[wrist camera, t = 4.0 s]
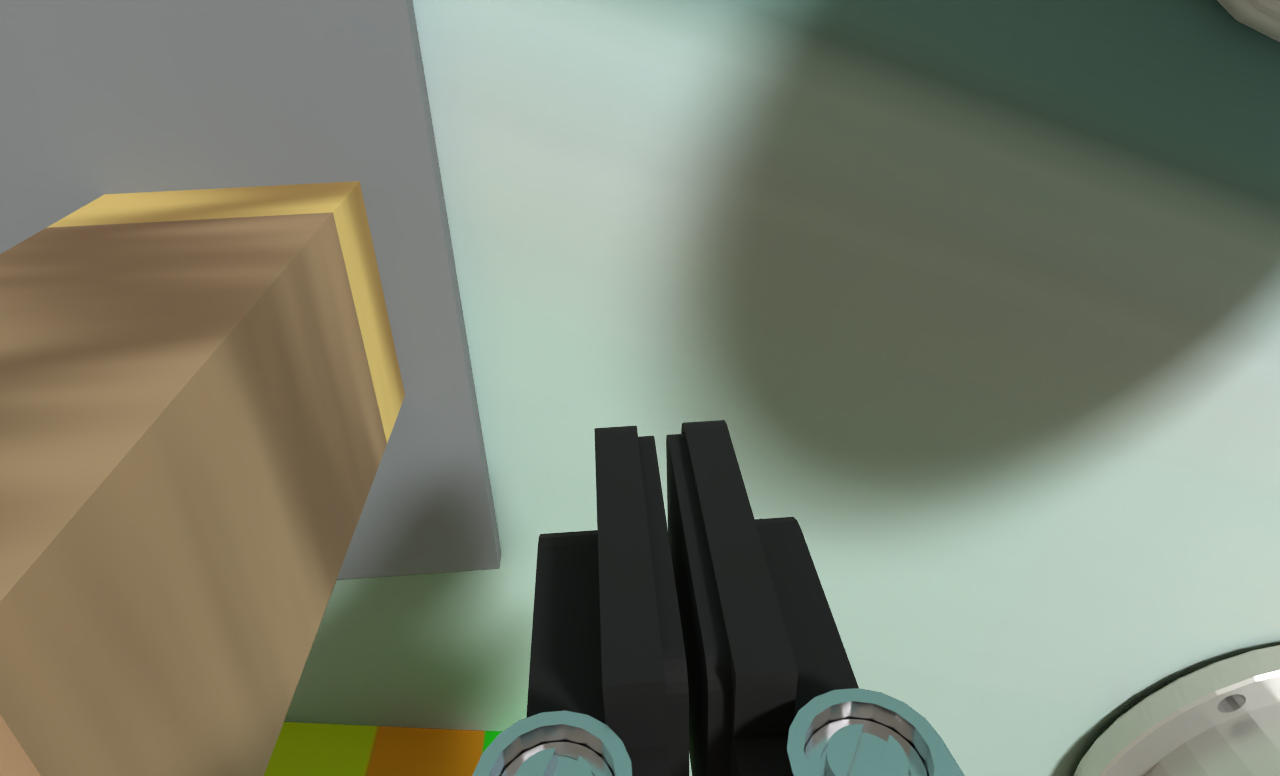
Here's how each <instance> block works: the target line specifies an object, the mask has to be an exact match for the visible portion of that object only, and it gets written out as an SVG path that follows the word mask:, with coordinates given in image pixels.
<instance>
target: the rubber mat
mask: <svg viewBox="0 0 1280 776" xmlns="http://www.w3.org/2000/svg"><path fill="white" fill-rule="evenodd" d="M354 181H360V185H361V190H362V195H363V200H364V204H365V209H366V214H367V218H368V223H369V228H370V232H371V237H372V242H373V247H374V251H375V256H376V261H377V265H378V270H379V275H380V279H381V284H382V289H383V294H384V298H385V303H386V308H387V312H388V317H389V322H390V327H391V331H392V336H393V341H394V345H395V350H396V355H397V359H398V364H399V369H400V374H401V378H402V383H403V388H404V392H405V397H404V400H403V402H402V405H401V408H400V411H399V413H398V416H397V419H396V421H395V424H394V427H393V429H392V432H391V435H390V437H389V440H388V443H387V446H386V448H385V451H384V454H383V456H382V459H381V462H380V464H379V467H378V470H377V472H376V475H375V478H374V481H373V483H372V486H371V489H370V491H369V494H368V497H367V499H366V502H365V505H364V507H363V510H362V513H361V516H360V518H359V521H358V524H357V526H356V529H355V532H354V534H353V537H352V540H351V542H350V545H349V548H348V550H347V553H346V556H345V559H344V561H343V564H342V567H341V569H340V572H339V575H338V577H337V580H344V579H358V578H372V577H387V576H401V575H415V574H429V573H444V572H458V571H472V570H486V569H499V567H500V559H501V549H500V542H499V536H498V530H497V524H496V517H495V511H494V505H493V499H492V493H491V486H490V480H489V474H488V468H487V461H486V455H485V449H484V443H483V437H482V430H481V424H480V418H479V412H478V405H477V399H476V393H475V387H474V381H473V374H472V368H471V362H470V356H469V350H468V343H467V337H466V331H465V325H464V318H463V312H462V306H461V300H460V294H459V287H458V281H457V275H456V269H455V262H454V256H453V250H452V244H451V238H450V231H449V225H448V219H447V213H446V207H445V200H444V194H443V188H442V182H441V175H440V169H439V163H438V157H437V151H436V144H435V138H434V132H433V126H432V119H431V113H430V107H429V101H428V95H427V88H426V82H425V76H424V70H423V64H422V57H421V51H420V45H419V39H418V32H417V26H416V20H415V14H414V8H413V1H412V0H0V254H1V253H3V252H5V251H6V250H8V249H10V248H12V247H13V246H15V245H17V244H19V243H20V242H22V241H24V240H26V239H27V238H29V237H31V236H33V235H34V234H36V233H38V232H40V231H41V230H43V229H45V228H47V227H48V226H50V225H52V224H54V223H55V222H57V221H59V220H61V219H62V218H64V217H66V216H68V215H69V214H71V213H73V212H75V211H76V210H78V209H80V208H82V207H83V206H85V205H87V204H89V203H90V202H92V201H94V200H96V199H97V198H99V197H101V196H103V195H104V194H122V193H142V192H161V191H180V190H199V189H219V188H238V187H257V186H277V185H296V184H315V183H334V182H354Z"/></svg>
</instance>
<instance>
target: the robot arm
mask: <svg viewBox="0 0 1280 776" xmlns="http://www.w3.org/2000/svg"><path fill="white" fill-rule="evenodd" d="M666 449H667V499H668V530H667V523H666V516H665V509H664V502H663V495H662V488H661V481H660V474H659V467H658V460H657V453H656V446H655V440H654V436H644V437H638V433H637V426H625V427H609V428H595V457H596V490H597V524H598V530H595V531H580V532H565V533H551V534H540V536H539V542H538V554H537V569H536V584H535V599H534V614H533V629H532V644H531V659H530V674H529V689H528V704H527V718H525V719H522V720H519V721H518V722H516V723H515V724H513V725H512V726H510V727H509V728H507V729H506V730H504V731H503V732H502V733H500V734H499V735H498V736H497V737H496V738H495V739H494V740H493V742H492V743H491V744H490V745H489V746H488V747H487V749H486V750H485V751H484V752H483V753H482V755H481V758H480V760H479V762H478V764H477V766H476V769H475V771H474V773H473V775H472V776H689V753H690V761H691V769H692V776H965V775H964V774H963V772H962V771H961V769H960V767H959V766H958V764H957V763H956V761H955V759H954V758H953V756H952V754H951V753H950V751H949V750H948V748H947V746H946V745H945V743H944V742H943V740H942V738H941V737H940V736H939V735H938V733H937V732H936V731H935V730H934V728H933V727H932V726H931V725H930V724H929V722H928V721H927V720H926V719H925V718H924V717H923V716H922V715H920V714H919V713H918V712H916V711H915V710H913V709H912V708H911V707H909V706H908V705H907V704H905V703H904V702H902V701H899V700H897V699H895V698H892V697H890V696H888V695H886V694H883V693H881V692H875V691H870V690H864V689H859V687H858V685H857V682H856V679H855V676H854V674H853V671H852V668H851V665H850V663H849V660H848V657H847V654H846V652H845V649H844V646H843V643H842V641H841V638H840V635H839V632H838V630H837V627H836V624H835V621H834V619H833V616H832V613H831V610H830V608H829V605H828V602H827V599H826V597H825V594H824V591H823V588H822V586H821V583H820V580H819V577H818V575H817V572H816V569H815V566H814V564H813V561H812V558H811V555H810V553H809V550H808V547H807V544H806V542H805V539H804V536H803V533H802V531H801V528H800V526H799V524H798V522H797V520H796V519H795V518H794V517H785V518H771V519H756V520H754V517H753V513H752V510H751V506H750V503H749V499H748V496H747V493H746V489H745V486H744V482H743V479H742V475H741V472H740V469H739V465H738V462H737V458H736V455H735V451H734V448H733V445H732V441H731V438H730V434H729V431H728V427H727V424H726V422H725V421H724V420H720V421H704V422H688V423H683V424H682V432H681V434H675V435H667V439H666ZM1074 776H1280V645H1277V646H1272V647H1267V648H1262V649H1257V650H1252V651H1249V652H1246V653H1243V654H1240V655H1236V656H1233V657H1230V658H1227V659H1224V660H1221V661H1218V662H1215V663H1212V664H1210V665H1208V666H1205V667H1203V668H1201V669H1199V670H1196V671H1194V672H1192V673H1190V674H1187V675H1185V676H1183V677H1180V678H1178V679H1177V680H1175V681H1173V682H1171V683H1170V684H1168V685H1166V686H1164V687H1163V688H1161V689H1159V690H1157V691H1156V692H1154V693H1152V694H1150V695H1149V696H1147V697H1146V698H1144V699H1143V700H1141V701H1140V702H1139V703H1137V704H1136V705H1135V706H1133V707H1132V708H1131V709H1129V710H1128V711H1127V712H1125V713H1124V714H1123V715H1121V716H1120V717H1119V718H1118V719H1116V720H1115V721H1114V722H1113V723H1112V724H1111V725H1110V726H1109V727H1108V728H1107V729H1106V730H1105V731H1104V732H1103V733H1102V734H1101V735H1100V736H1099V737H1098V738H1097V739H1096V740H1095V742H1094V743H1093V744H1092V746H1091V747H1090V748H1089V750H1088V751H1087V752H1086V754H1085V755H1084V756H1083V758H1082V759H1081V761H1080V763H1079V765H1078V767H1077V769H1076V771H1075V774H1074Z"/></svg>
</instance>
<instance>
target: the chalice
mask: <svg viewBox="0 0 1280 776" xmlns="http://www.w3.org/2000/svg"><path fill="white" fill-rule="evenodd" d="M1217 1H1218V2H1219V3H1220V4H1221V5H1222V6H1223V7H1224V8H1225V9H1226V10H1227V11H1228V12H1229V13H1230V14H1231V15H1232V16H1233V18H1234V19H1235V20H1236V21H1238V22H1240V23H1242V24H1244V25H1246V26H1248V27H1250V28H1252V29H1254V30H1256V31H1258V32H1260V33H1262V34H1264V35H1266V36H1268V37H1270V38H1272V39H1274V40H1276V41H1278V42H1280V0H1217Z"/></svg>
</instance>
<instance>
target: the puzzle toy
mask: <svg viewBox="0 0 1280 776" xmlns="http://www.w3.org/2000/svg"><path fill="white" fill-rule="evenodd" d="M500 733H502V732H497V731H475V730H453V729H431V728H409V727H386V726H364V725H342V724H320V723H298V722H284V723H283V725H282V728H281V731H280V734H279V736H278V739H277V742H276V744H275V747H274V750H273V752H272V755H271V758H270V760H269V763H268V766H267V769H266V771H265V774H264V776H472V775H473V773H474V771H475V769H476V766H477V764H478V762H479V760H480V758H481V755H482V753H483V752H484V751H485V750H486V749H487V747H488V746H489V745H490V744H491V743H492V742H493V740H494V739H495V738H496V737H497V736H498V735H499V734H500Z"/></svg>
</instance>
